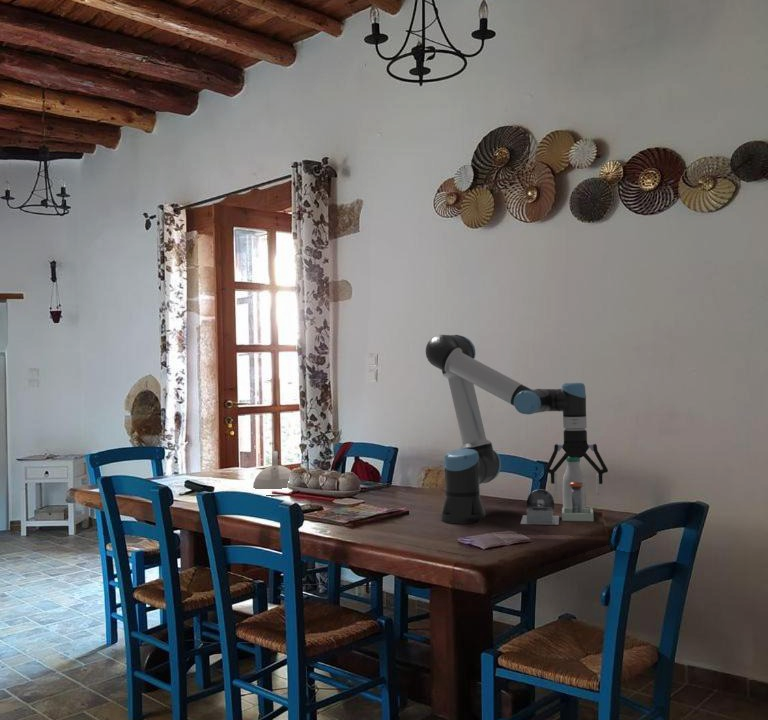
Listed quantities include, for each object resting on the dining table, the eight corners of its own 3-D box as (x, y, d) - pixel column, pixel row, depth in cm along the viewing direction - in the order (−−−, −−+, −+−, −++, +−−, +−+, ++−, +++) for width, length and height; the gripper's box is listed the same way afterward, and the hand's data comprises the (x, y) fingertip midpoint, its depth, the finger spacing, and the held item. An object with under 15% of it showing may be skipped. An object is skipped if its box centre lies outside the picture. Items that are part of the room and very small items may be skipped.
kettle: (250, 497, 334) (249, 454, 335) (254, 489, 355) (253, 449, 355) (299, 495, 336) (298, 452, 336) (300, 488, 357) (299, 447, 357)
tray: (562, 524, 261) (561, 513, 261) (562, 518, 271) (562, 507, 271) (593, 524, 259) (593, 513, 259) (592, 519, 268) (592, 508, 268)
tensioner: (520, 527, 257) (519, 495, 257) (523, 518, 272) (522, 488, 272) (558, 528, 255) (557, 496, 255) (559, 519, 269) (558, 488, 269)
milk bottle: (586, 516, 273) (584, 457, 273) (563, 516, 275) (561, 457, 275) (585, 512, 281) (583, 455, 281) (563, 512, 282) (561, 455, 283)
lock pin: (571, 520, 263) (569, 483, 263) (570, 518, 267) (569, 481, 267) (584, 520, 262) (582, 483, 262) (583, 518, 266) (582, 481, 266)
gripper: (536, 430, 264) (538, 495, 264) (614, 430, 258) (616, 496, 258) (537, 428, 271) (539, 491, 271) (613, 428, 266) (615, 492, 265)
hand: (576, 493), depth 265 cm, fingers open, 13 cm apart
